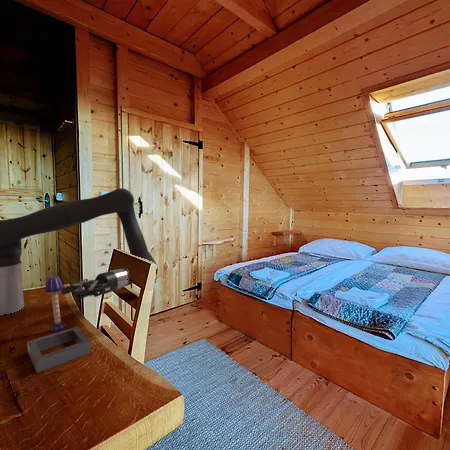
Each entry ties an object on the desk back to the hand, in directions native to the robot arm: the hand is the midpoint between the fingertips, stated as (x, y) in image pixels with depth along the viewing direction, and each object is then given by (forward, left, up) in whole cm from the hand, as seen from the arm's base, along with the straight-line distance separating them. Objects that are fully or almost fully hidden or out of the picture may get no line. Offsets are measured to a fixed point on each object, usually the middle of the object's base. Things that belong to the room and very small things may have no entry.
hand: (69, 293), depth 87 cm
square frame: (+7, -17, -10) cm, 21 cm away
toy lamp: (-2, -4, -10) cm, 11 cm away
